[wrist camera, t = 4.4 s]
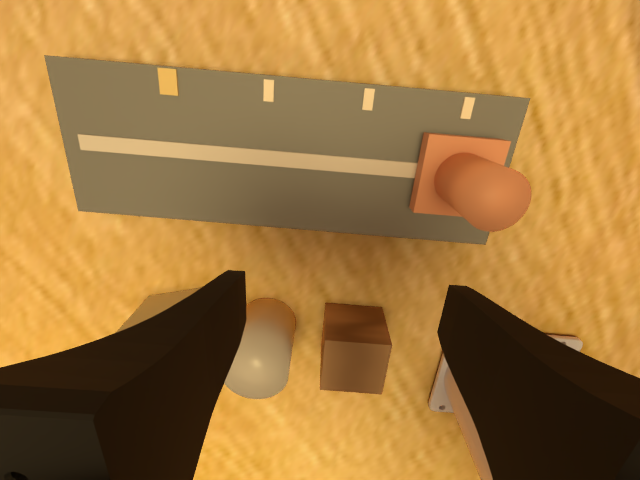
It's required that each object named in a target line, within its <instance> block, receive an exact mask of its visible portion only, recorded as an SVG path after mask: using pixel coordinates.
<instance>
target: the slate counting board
mask: <svg viewBox="0 0 640 480" xmlns="http://www.w3.org/2000/svg"><path fill="white" fill-rule="evenodd" d="M44 56H45V61H46V65H47V70H48V75H49V79H50V84H51V88H52V93H53V97H54V102H55V107H56V111H57V116H58V120H59V125H60V129H61V134H62V138H63V143H64V148H65V152H66V157H67V161H68V166H69V170H70V175H71V180H72V184H73V189H74V193H75V198H76V202H77V207H78V211H85V212H97V213H109V214H121V215H134V216H146V217H158V218H170V219H182V220H194V221H206V222H218V223H230V224H242V225H254V226H266V227H279V228H291V229H303V230H315V231H327V232H339V233H351V234H363V235H375V236H387V237H399V238H411V239H424V240H436V241H448V242H460V243H472V244H484V245H486V241H487V238H488V235H489V232H488V231H482V230H479V229H477V228H475V227H474V226H473V225H471V224H470V223H469V222H468V221H467V220H466V219H465V218H463V217H459V216H448V215H436V214H424V213H413V211H412V210H411V209H410V207H409V205H410V200H411V195H412V190H413V185H414V180H415V175H416V170H417V165H418V160H419V154H420V149H421V144H422V139H423V134H424V132H427V133H439V134H450V135H462V136H473V137H485V138H496V139H504V140H508V141H511V144H510V147H509V151H508V154H507V157H506V161H505V164H504V166H505V167H508V168H509V166H510V163H511V160H512V156H513V153H514V150H515V147H516V143H517V140H518V137H519V134H520V130H521V127H522V124H523V120H524V117H525V114H526V111H527V107H528V104H529V101H530V98H521V97H510V96H498V95H487V94H476V93H464V92H453V91H442V90H430V89H419V88H408V87H397V86H385V85H374V84H363V83H351V82H340V81H329V80H317V79H306V78H295V77H284V76H272V75H261V74H250V73H238V72H227V71H216V70H205V69H193V68H182V67H171V66H159V65H148V64H137V63H125V62H114V61H103V60H92V59H80V58H69V57H58V56H46V55H44Z"/></svg>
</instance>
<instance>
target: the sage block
mask: <svg viewBox="0 0 640 480" xmlns="http://www.w3.org/2000/svg"><path fill="white" fill-rule="evenodd" d="M199 289H200V288H196V289H189V290H183V291H176V292H170V293H163V294H157V295H150V296H148V298H147V299H146V300H145V301H144V302H143V303H142V304H141V305H140V306H139V308H138V309H137V310H136V311H135V312H134V313H133V314H132V315H131V316H130V317H129V319H128V320H127V321H126V322H125V323H124V324H123V325H122V326H121V327H120V329H119V330H118V331H117V332H119V331H122V330H124V329H127V328H129V327H132V326H134V325H136V324H138V323H140V322H142V321H145V320H147V319H149V318H151V317H153V316H155V315H157V314H159V313H161V312H162V311H164V310H166V309H168V308H170V307H171V306H173V305H175V304H176V303H178V302H180V301H181V300H183V299H185V298H186V297H188V296H190V295H191V294H193V293H194V292H196V291H197V290H199ZM117 332H116V333H117Z"/></svg>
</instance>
